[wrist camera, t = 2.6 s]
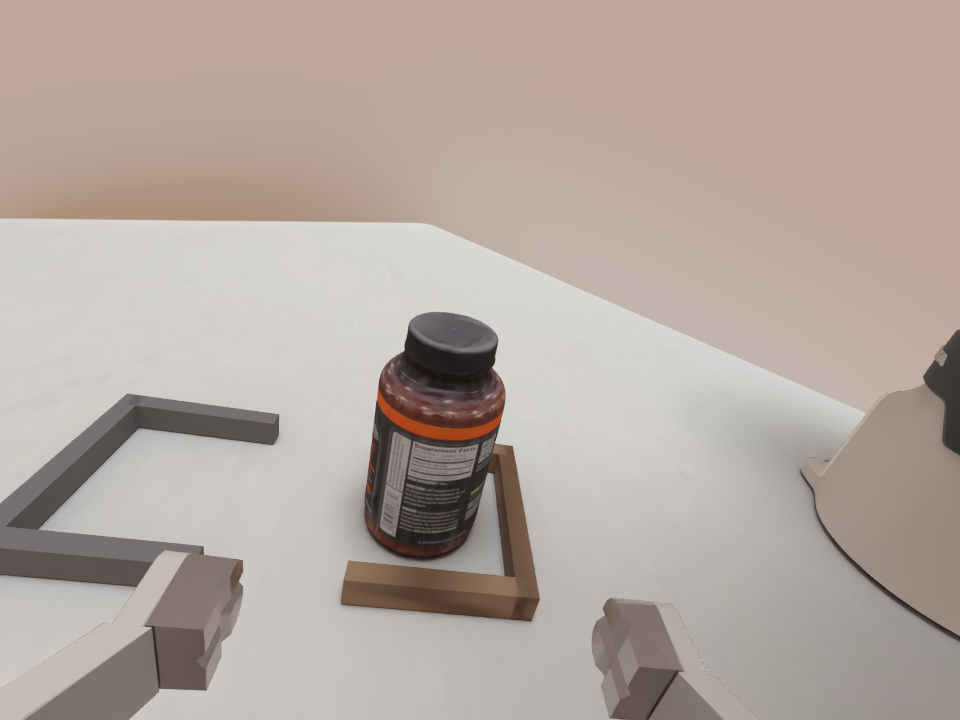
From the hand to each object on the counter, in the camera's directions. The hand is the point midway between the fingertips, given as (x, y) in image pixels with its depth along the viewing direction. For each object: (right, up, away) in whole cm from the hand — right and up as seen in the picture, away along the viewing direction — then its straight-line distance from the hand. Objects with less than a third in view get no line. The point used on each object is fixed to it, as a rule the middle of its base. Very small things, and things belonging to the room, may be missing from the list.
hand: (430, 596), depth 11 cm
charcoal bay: (-15, -1, +14) cm, 20 cm away
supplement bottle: (-2, -3, +16) cm, 16 cm away
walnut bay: (-1, -3, +16) cm, 16 cm away
